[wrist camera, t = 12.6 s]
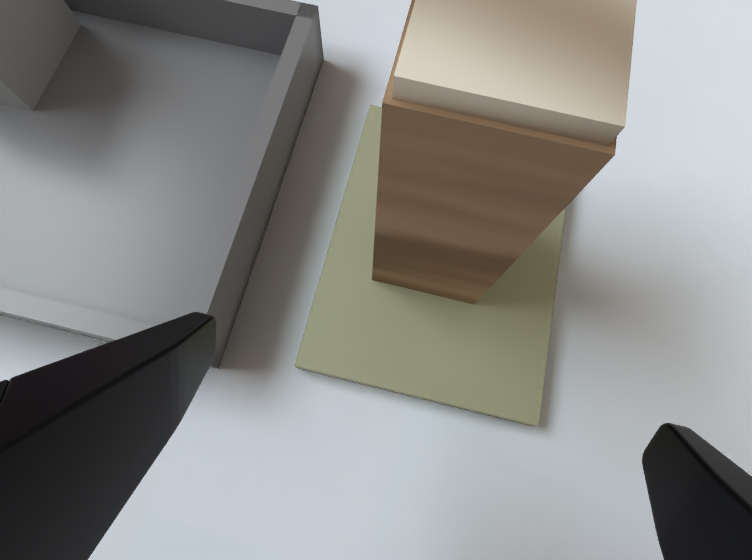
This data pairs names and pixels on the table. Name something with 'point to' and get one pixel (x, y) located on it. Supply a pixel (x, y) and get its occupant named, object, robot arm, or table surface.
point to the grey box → (32, 47)
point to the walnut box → (493, 132)
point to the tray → (152, 163)
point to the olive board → (430, 317)
